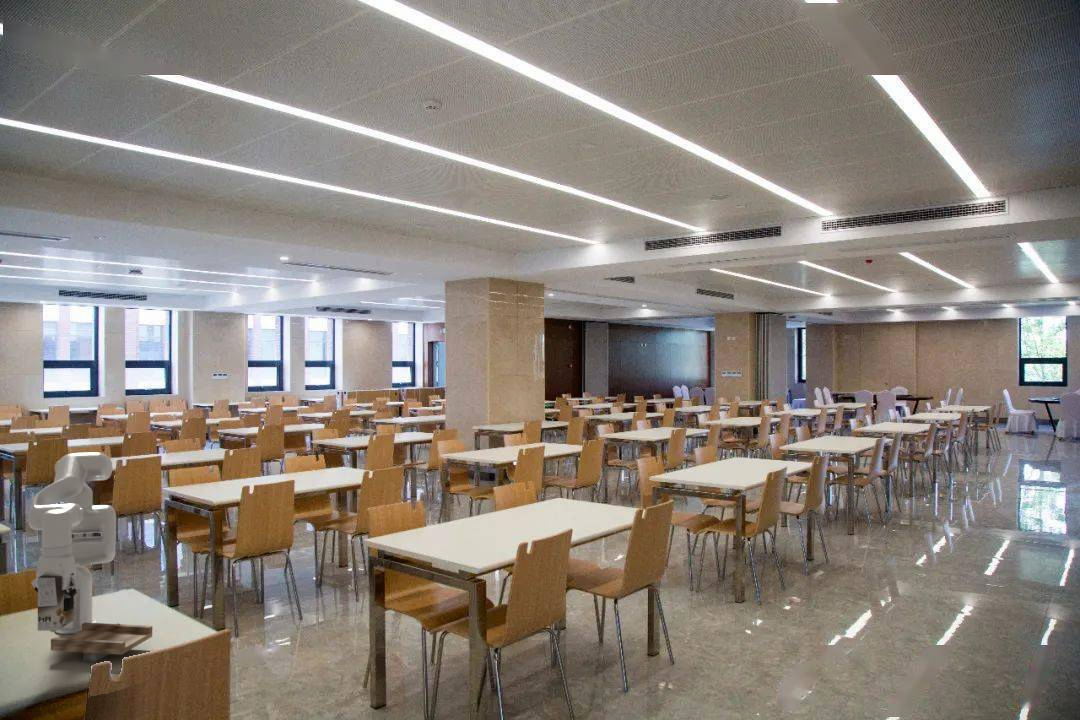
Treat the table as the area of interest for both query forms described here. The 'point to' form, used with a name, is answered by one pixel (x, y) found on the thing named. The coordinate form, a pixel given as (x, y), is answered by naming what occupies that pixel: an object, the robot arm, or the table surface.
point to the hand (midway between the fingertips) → (56, 608)
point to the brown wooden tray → (103, 640)
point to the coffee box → (52, 604)
